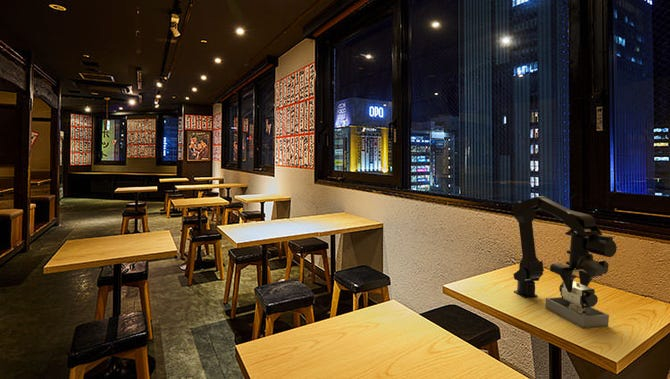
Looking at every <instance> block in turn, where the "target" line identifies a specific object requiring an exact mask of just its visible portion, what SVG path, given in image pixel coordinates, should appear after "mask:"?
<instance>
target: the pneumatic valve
mask: <svg viewBox="0 0 670 379" xmlns="http://www.w3.org/2000/svg"><path fill="white" fill-rule="evenodd" d="M558 288H559V289H558V290H559V292H560V294H559V295H560V297H562V298H563V299H565V300H567V301H569V302H571V303H574V304H570V305H569V309H570V310H572V311H574V312H576V313H578V314H580V315H582V316H586V311H585V309H586V308H587V307H593V308H595V306H596V305H597V304H598V300H599V298H598V296H597V295H596V292H595V291H596V289H595V288H593V287H589V286H588V287H587V286H585V285H582V284H580V282H578V281H577V282H576V280H575V281H574V280H573V286H572V291H571V293H570V292H568V291H567V289H566V286H565V284H564V282H563V281H562V282H561V284H560V285H559V287H558Z"/></svg>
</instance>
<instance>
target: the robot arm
mask: <svg viewBox="0 0 670 379" xmlns="http://www.w3.org/2000/svg"><path fill="white" fill-rule="evenodd" d="M538 210H543V211H544V212H546V213H549V214H551V215H552V216H554V217H556V218H558V219H560V221H563V223H564V225H565V226H566V227H568V228H569V230H568V231H565V232H564V234H565V236H569V237H570V243H569V244H570V245H569V249H568V250H566V254H567V255H568V254H569V260H568V261H565V264H562V263H560V262H559V263H552V264H550V265H549V267H550V268H549V271H550V272H551V273H553V274H554V273H555V274H556V275H559V276H560V278H561V280H562V282H564V284H565V286H566V289H567V291H568V292H570V293H571V291H572V286H573V281H574V279H577V277H578V276H577V275H574V274H575V272H578V275H579V283H580V284H582V285H585V286H587V287H589V285H590V283H591V282H592V280H593V279H594V278H597V277H602V276H603V275H604V274H607V273H608V272H609V262H608V261H606V260H599V261H598V260H595V259H594V255H593V254H595V255H598V256H602V257H606V258H612V257H614V256H615V255H616V253H617V250H618V249H617V248H618V246H617V244H616V242H615V241H614V240H613V239H614V237H613V236H611V235H610V236H609V235H603V233H602V231H601V230H600V228H599V226H598V225H597V223H596V219H595V218H594V217H593V216H592V215H590V214H588V213H583V212H579V211H576V210H575V211H574V210H572V209H570V208H567V207H565V206H563V205H561V204H559V203H557V202H555V201H553V200H551V199H550V198H548V197H546V196H544V195H542V196H540V195H539V196H534V197H531V198H529V199H526V200H523V201H516V202H514V204H513V205H512V214H513V217H514V218H515V220H516V221H517V223H518V229H519V237H520V245H521V254H522V255H521V256H522V257H521V259H520V262H519V265H518V266H519V267H518V270H517V271H516V272H514V273H513V274H512V275H513V280H515V281H517V285H516V286H517V287H516V289H517V290H513V293H515V294H518V295H519V296H520V297H522V298H534V297H536V298H537V297H538V294H536V282H539V281H540V279H541V277H542V276H543V275H544V271H545V270H544V262H543V261H542V260H539V259H538V257H537V253H536V245H535V235H534V226H533V221H534V219H535V217H536V211H538Z"/></svg>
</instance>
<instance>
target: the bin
mask: <svg viewBox="0 0 670 379" xmlns="http://www.w3.org/2000/svg"><path fill="white" fill-rule="evenodd" d="M570 304H574V303H571V302H569V301H567V300H565V299H563V298H562V296H558V297H546V298H545V305H544V309H546V310H548V311H549V312H551V313H554V314H555V315H557V316H559V317H560V318H563V319H565V320H566V321H568V322H570V323H572V324H574V325H576V326H577V327H580V328H581V329H593V328H595V329H596V328H603V326H605V327H609V320H610V318H609V317H610V315H609V314H608V313H606V312H603V311H602V310H599V309H597V308H595V307H587V308H586V309H585V311H586V316H582V315H580V314H578V313H576V312H574V311H572V310H570V309H569V305H570Z"/></svg>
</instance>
